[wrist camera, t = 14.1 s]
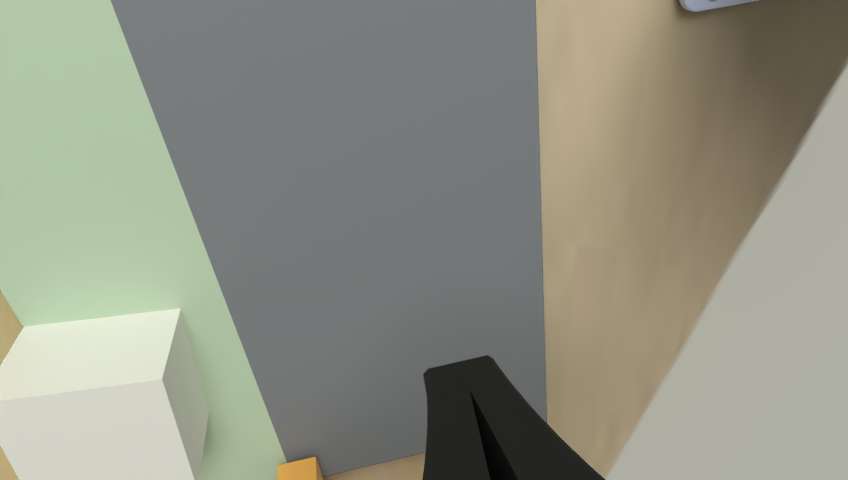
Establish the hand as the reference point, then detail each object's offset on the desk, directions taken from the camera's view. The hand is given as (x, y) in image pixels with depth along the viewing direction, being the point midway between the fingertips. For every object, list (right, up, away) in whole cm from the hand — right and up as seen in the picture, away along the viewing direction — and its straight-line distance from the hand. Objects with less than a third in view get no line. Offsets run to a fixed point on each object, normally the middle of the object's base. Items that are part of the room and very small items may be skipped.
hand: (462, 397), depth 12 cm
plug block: (-12, -2, +10) cm, 15 cm away
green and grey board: (-6, +3, +9) cm, 11 cm away
